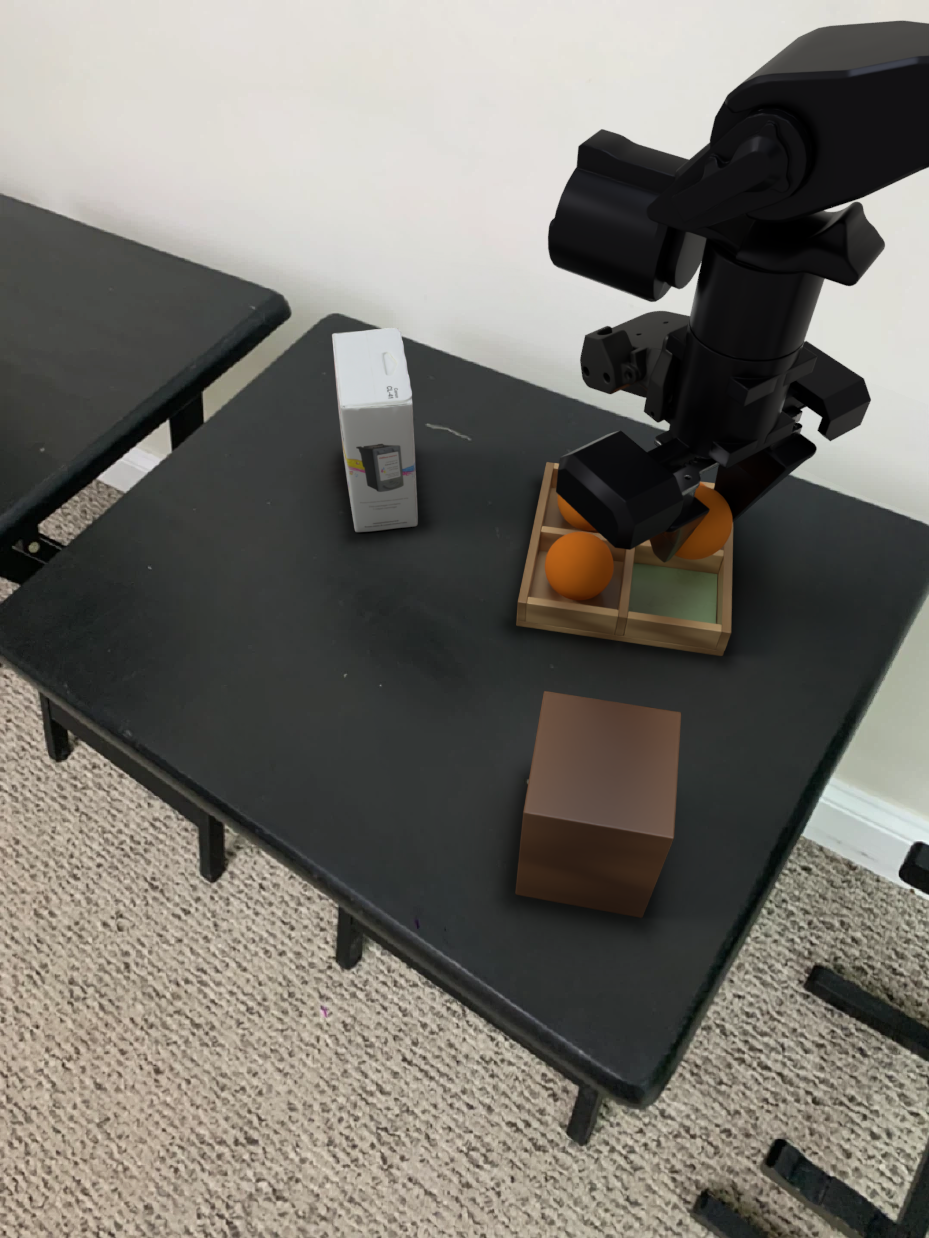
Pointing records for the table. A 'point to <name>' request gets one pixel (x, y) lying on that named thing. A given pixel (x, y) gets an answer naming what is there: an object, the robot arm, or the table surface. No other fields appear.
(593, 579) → the clementine
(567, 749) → the brown wooden block
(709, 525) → the clementine
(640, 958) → the table surface
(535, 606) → the fruit rack
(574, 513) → the clementine
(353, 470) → the ink box
